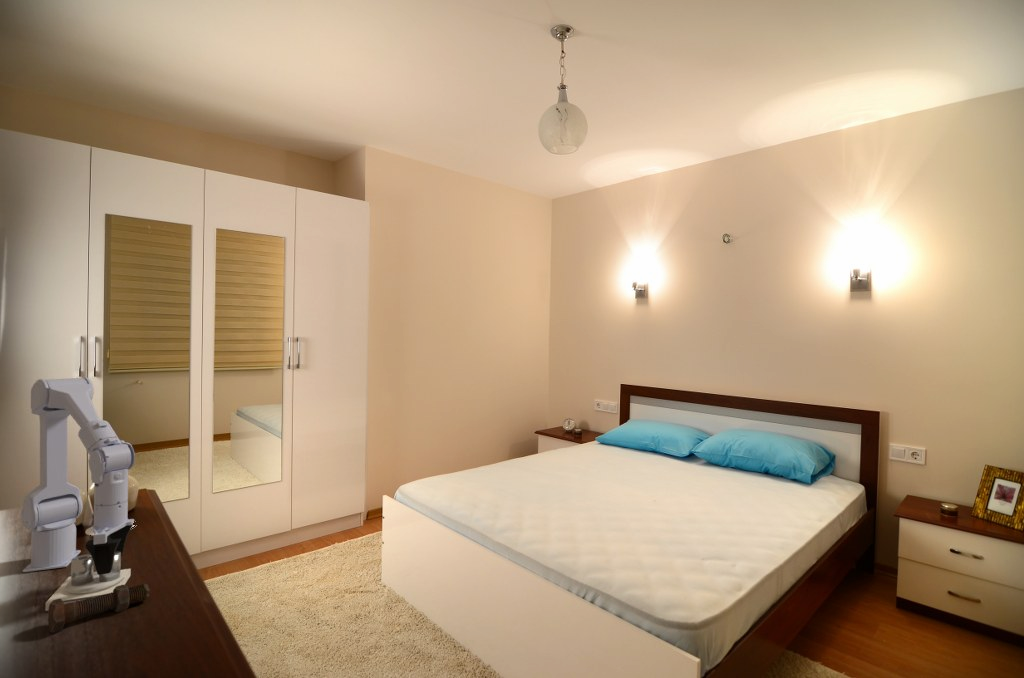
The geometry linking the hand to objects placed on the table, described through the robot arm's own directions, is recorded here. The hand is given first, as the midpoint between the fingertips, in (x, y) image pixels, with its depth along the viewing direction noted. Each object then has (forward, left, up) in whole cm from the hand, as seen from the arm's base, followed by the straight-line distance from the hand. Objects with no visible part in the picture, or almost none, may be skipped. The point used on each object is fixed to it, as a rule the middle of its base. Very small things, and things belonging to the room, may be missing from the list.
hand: (110, 565), depth 110 cm
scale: (0, -3, -5) cm, 6 cm away
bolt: (+12, +2, -5) cm, 13 cm away
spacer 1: (0, -5, -3) cm, 5 cm away
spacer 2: (0, 0, -3) cm, 3 cm away
